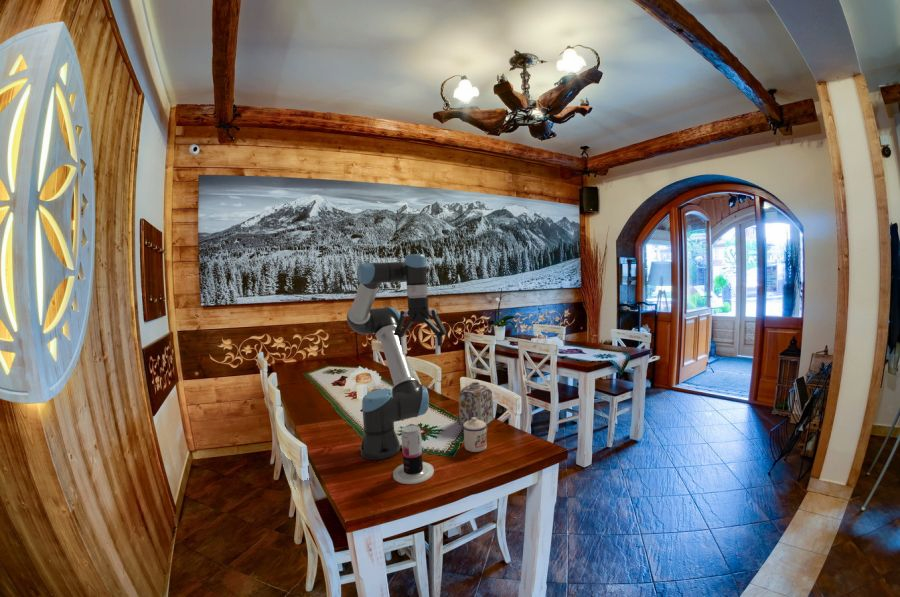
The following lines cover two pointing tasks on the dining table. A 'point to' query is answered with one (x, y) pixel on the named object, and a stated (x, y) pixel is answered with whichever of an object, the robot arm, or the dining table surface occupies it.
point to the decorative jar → (475, 403)
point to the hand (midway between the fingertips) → (421, 354)
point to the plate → (413, 479)
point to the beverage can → (412, 449)
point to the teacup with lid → (475, 435)
